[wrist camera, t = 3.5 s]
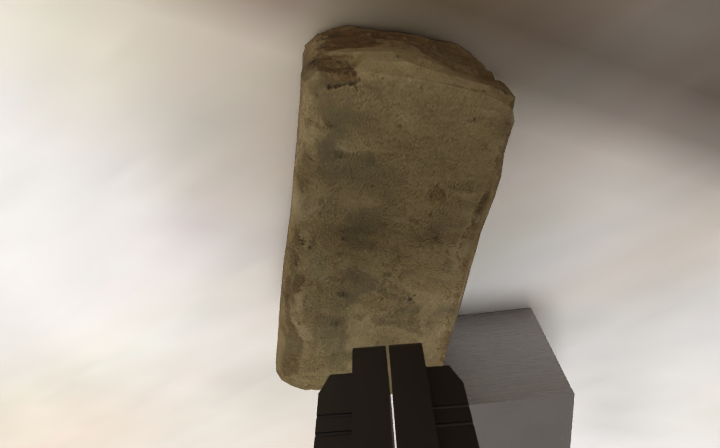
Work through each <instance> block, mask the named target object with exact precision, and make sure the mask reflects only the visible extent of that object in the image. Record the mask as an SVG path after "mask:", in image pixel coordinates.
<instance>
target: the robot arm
mask: <svg viewBox="0 0 720 448" xmlns="http://www.w3.org/2000/svg"><path fill="white" fill-rule="evenodd" d="M389 356H390V369H391V381H392V393H393V406H394V418H395V430H396V443H397V448H480V447H479V443H478V439H477V435H476V431H475V427H474V425H473V419H472V415H471V411H470V408H469V403H468V399H467V395H466V391H465V387H464V383H463V381H462V380H461V379H460V378H459V377H458V375H457V374H456V373H455V372H454V371H453V369H452V368H451V367H450V366H449V365H446V366H433V367H426V364H425V358H424V352H423V346H422V343H409V344H396V345H389ZM314 448H395V444H394V431H393V419H392V407H391V396H390V385H389V375H388V364H387V354H386V346H373V347H360V348H353V350H352V373H344V374H331V375H329V377H328V379H327V380H326V382H325V384H324V385H323V387H322V389H321V390H320V392H319V395H318V406H317V419H316V429H315V441H314Z"/></svg>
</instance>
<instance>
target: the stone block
mask: <svg viewBox="0 0 720 448" xmlns="http://www.w3.org/2000/svg"><path fill="white" fill-rule="evenodd" d="M514 101H515V97H514V95H513V94H512V93H511V92H510V90H509V89H508V87H507V86H506V85H505V84H504V83H502V82H501V81H497V80H495V79H494V76H493V74H492V73H491V72H490V71H487V70H486V68H485V67H484V66H483V65H482V64H481V63H480V62H478V61H477V59H476V58H475V57H473V56H472V55H471V54H469V53H468V52H467V51H465V50H464V49H462V48H461V47H460V46H458V45H457V44H455V43H450V42H445V41H433V40H431V39H428V38H425V37H420V36H417V35H412V34H407V33H400V32H385V31H377V30H371V29H360V28H358V27H353V26H344V27H339V28H334V29H331V30H329V31H326V32H323V33H321V34H317V35H316V36H315V37H314V38H313V39H312V40H311V41H310V42H308V43H307V44H306V45H305V50H304V52H303V64H302V72H301V90H300V105H299V116H298V130H297V144H296V155H295V166H294V175H293V190H292V202H291V213H290V220H289V227H288V235H287V244H286V250H285V256H284V266H283V276H282V287H281V299H280V311H279V328H278V342H277V354H276V371H277V373H278V375H279V377H280V378H281V380H283V381H284V382H286V383H288V384H290V385H292V386H294V387H297V388H300V389H304V390H310V389H313V390H321V389H322V387H323V385H324V384H325V382H326V380H327V379H328V377H329V375H331V374H344V373H352V350H353V348H360V347H373V346H386V354H387V364H388V375H389V385H390V394H393V393H392V381H391V369H390V356H389V345H396V344H409V343H422V346H423V352H424V358H425V364H426V367H433V366H443V364H444V360H445V356H446V352H447V348H448V345H449V341H450V338H451V334H452V331H453V328H454V325H455V322H456V319H457V315H458V312H459V308H460V305H461V301H462V298H463V294H464V291H465V287H466V283H467V280H468V276H469V272H470V268H471V265H472V262H473V258H474V255H475V252H476V248H477V244H478V240H479V237H480V233H481V230H482V228H483V225H484V222H485V220H486V217H487V215H488V212H489V210H490V207H491V204H492V202H493V199H494V197H495V194H496V191H497V187H498V184H499V181H500V178H501V172H502V164H503V157H504V152H505V148H506V145H507V142H508V139H509V136H510V133H511V129H512V126H513V123H514V117H513V106H514Z"/></svg>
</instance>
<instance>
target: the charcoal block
mask: <svg viewBox="0 0 720 448" xmlns="http://www.w3.org/2000/svg"><path fill="white" fill-rule="evenodd" d="M446 365H449V366H450V367H451V368H452V369H453V371H454V372H455V373H456V374H457V375H458V377H459V378H460V379H461V380H462V381H463V383H464V387H465V391H466V395H467V399H468V403H469V408H470V411H471V415H472V419H473V425H474V427H475V431H476V435H477V439H478V443H479V447H480V448H570V443H571V430H572V418H573V406H574V393H573V391H572V389H571V387H570V385H569V383H568V381H567V379H566V377H565V375H564V373H563V371H562V369H561V367H560V365H559V363H558V361H557V359H556V357H555V355H554V353H553V351H552V349H551V347H550V345H549V343H548V341H547V339H546V337H545V335H544V333H543V331H542V329H541V327H540V325H539V323H538V321H537V319H536V317H535V315H534V313H533V311H532V309H531V308H524V309H515V310H506V311H497V312H488V313H479V314H471V315H462V316H457V319H456V322H455V325H454V328H453V331H452V334H451V338H450V341H449V345H448V348H447V352H446V356H445V360H444V364H443V366H446Z"/></svg>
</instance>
